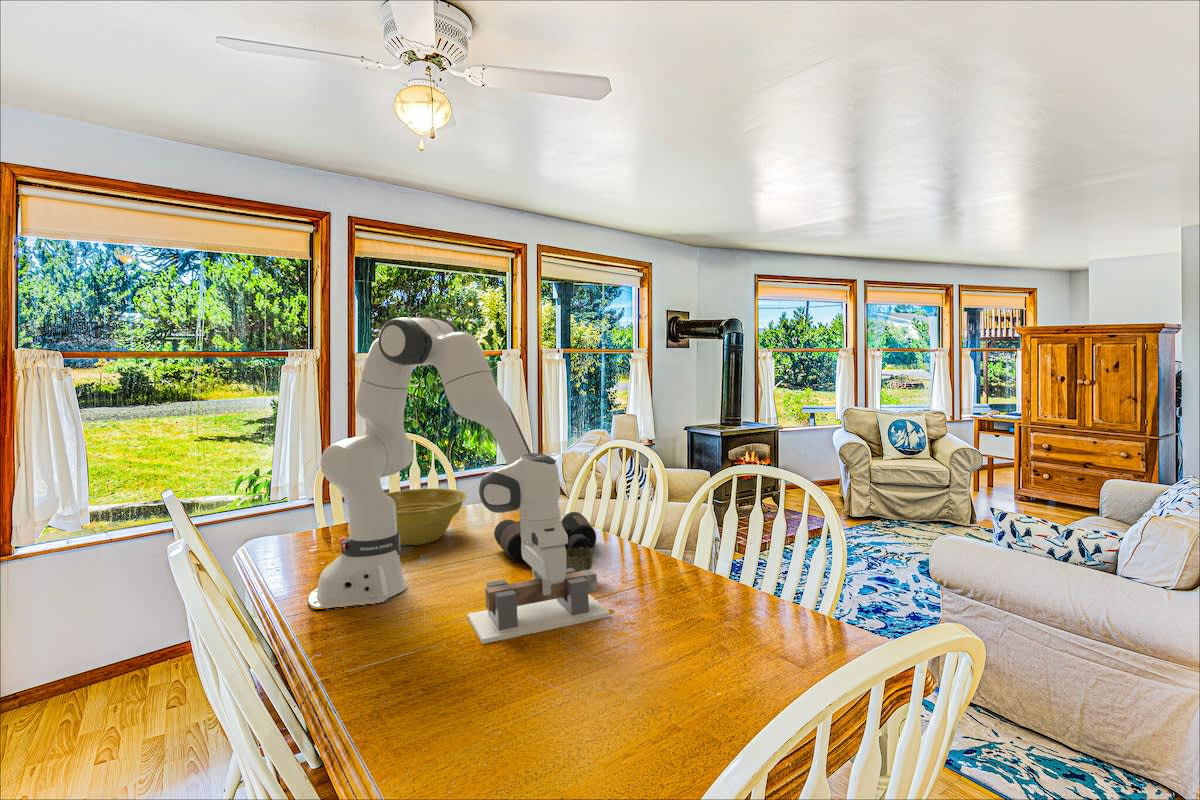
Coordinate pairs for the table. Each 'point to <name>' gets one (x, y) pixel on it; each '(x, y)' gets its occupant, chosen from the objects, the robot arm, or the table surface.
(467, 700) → the table surface
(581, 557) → the cup
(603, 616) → the board
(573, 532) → the binoculars
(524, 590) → the walnut bar
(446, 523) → the planter bowl
